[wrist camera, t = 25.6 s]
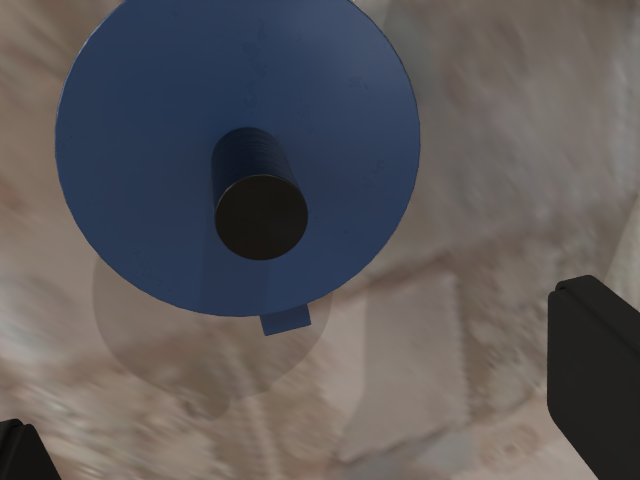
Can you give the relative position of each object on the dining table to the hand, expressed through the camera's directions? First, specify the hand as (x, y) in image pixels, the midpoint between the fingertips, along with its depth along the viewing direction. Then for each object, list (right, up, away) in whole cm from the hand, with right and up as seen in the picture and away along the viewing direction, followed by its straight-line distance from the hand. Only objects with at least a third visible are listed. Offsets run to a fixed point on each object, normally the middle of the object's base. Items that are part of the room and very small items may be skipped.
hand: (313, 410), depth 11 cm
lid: (-3, +6, +14) cm, 16 cm away
